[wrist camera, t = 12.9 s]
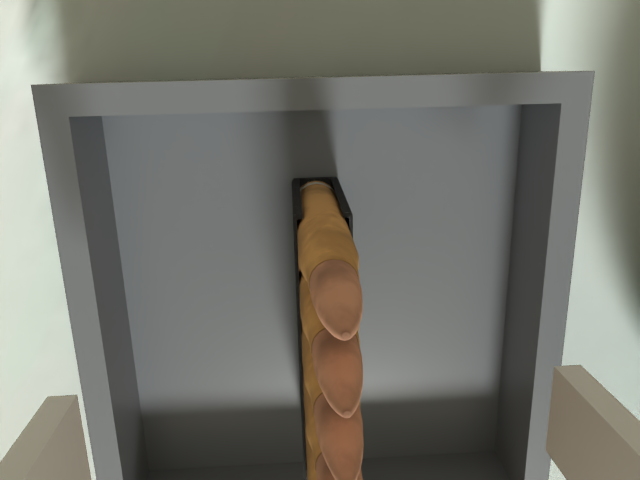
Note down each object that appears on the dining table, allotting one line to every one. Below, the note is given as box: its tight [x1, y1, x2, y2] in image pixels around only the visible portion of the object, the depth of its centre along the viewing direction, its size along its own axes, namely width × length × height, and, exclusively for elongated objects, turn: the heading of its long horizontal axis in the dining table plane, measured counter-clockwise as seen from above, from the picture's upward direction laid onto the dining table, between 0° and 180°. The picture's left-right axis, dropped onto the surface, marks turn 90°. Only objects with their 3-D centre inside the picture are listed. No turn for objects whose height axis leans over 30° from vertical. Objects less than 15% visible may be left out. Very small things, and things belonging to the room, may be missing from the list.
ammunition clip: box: [292, 177, 363, 480], centre depth 18 cm, size 11×2×12 cm, turn 2°
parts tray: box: [31, 71, 595, 480], centre depth 22 cm, size 18×18×4 cm
